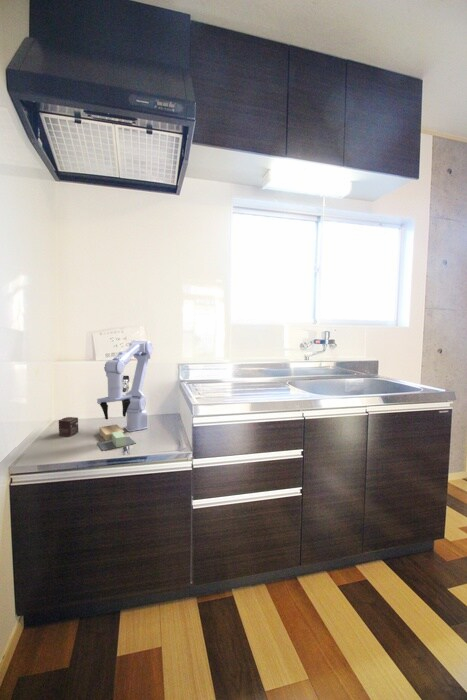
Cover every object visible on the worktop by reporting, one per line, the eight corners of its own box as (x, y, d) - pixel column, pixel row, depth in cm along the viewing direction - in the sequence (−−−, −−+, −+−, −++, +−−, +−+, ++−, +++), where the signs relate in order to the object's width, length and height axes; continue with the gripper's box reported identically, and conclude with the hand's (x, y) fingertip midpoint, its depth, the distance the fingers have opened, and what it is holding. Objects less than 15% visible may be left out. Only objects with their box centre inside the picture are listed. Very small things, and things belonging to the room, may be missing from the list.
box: (70, 436, 152) (69, 421, 152) (58, 435, 153) (58, 420, 153) (78, 432, 158) (78, 417, 157) (67, 431, 159) (67, 416, 159)
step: (116, 430, 162) (116, 424, 161) (124, 437, 152) (124, 431, 151) (99, 433, 157) (99, 427, 157) (106, 441, 147) (105, 434, 147)
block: (120, 430, 148) (125, 436, 141) (121, 439, 149) (125, 445, 142) (111, 432, 146) (116, 438, 139) (111, 441, 146) (116, 447, 140)
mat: (129, 437, 152) (129, 436, 152) (136, 443, 145) (136, 443, 145) (96, 443, 144) (96, 442, 144) (102, 450, 137) (102, 450, 137)
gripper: (99, 390, 139) (100, 422, 140) (134, 387, 147) (134, 417, 148) (95, 387, 145) (96, 418, 146) (129, 384, 153) (129, 413, 154)
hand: (115, 417), depth 148 cm, fingers open, 7 cm apart
